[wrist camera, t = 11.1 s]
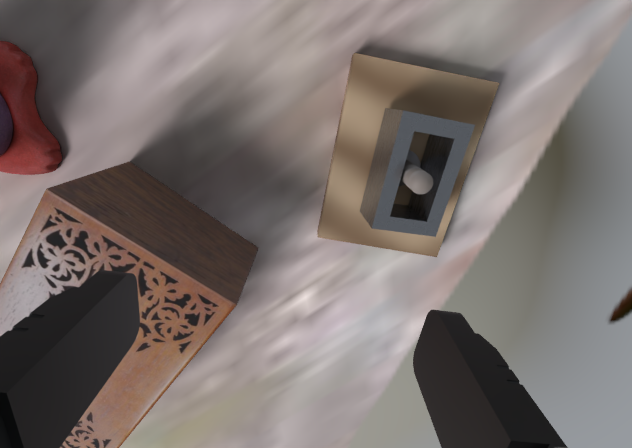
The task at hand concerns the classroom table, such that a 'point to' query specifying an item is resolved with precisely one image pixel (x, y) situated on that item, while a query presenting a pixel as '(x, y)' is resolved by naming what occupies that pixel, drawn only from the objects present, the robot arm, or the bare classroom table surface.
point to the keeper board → (361, 137)
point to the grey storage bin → (437, 161)
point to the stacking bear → (22, 118)
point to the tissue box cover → (151, 273)
